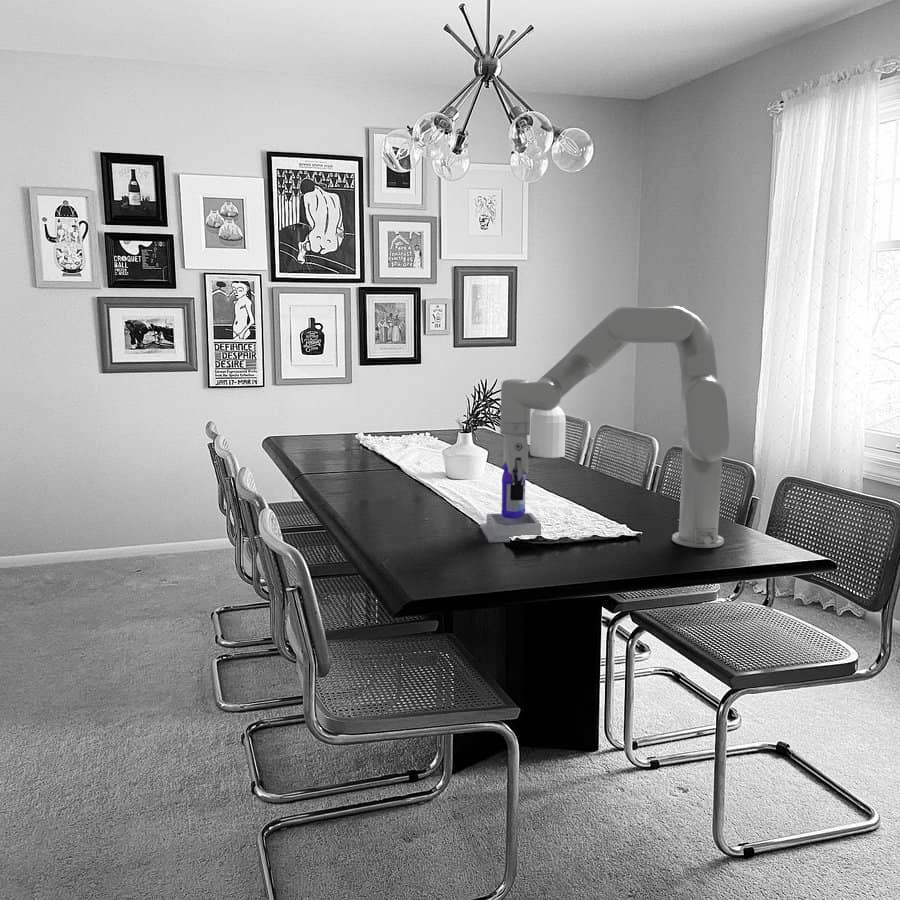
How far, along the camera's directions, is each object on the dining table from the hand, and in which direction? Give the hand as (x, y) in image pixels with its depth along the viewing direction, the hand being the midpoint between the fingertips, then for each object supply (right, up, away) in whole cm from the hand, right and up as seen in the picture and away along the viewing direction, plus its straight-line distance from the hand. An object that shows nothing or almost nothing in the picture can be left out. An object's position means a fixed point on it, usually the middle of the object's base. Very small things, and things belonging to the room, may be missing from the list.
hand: (513, 496), depth 238 cm
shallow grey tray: (0, -10, +2) cm, 10 cm away
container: (+21, +10, +116) cm, 119 cm away
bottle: (0, -5, +1) cm, 6 cm away
